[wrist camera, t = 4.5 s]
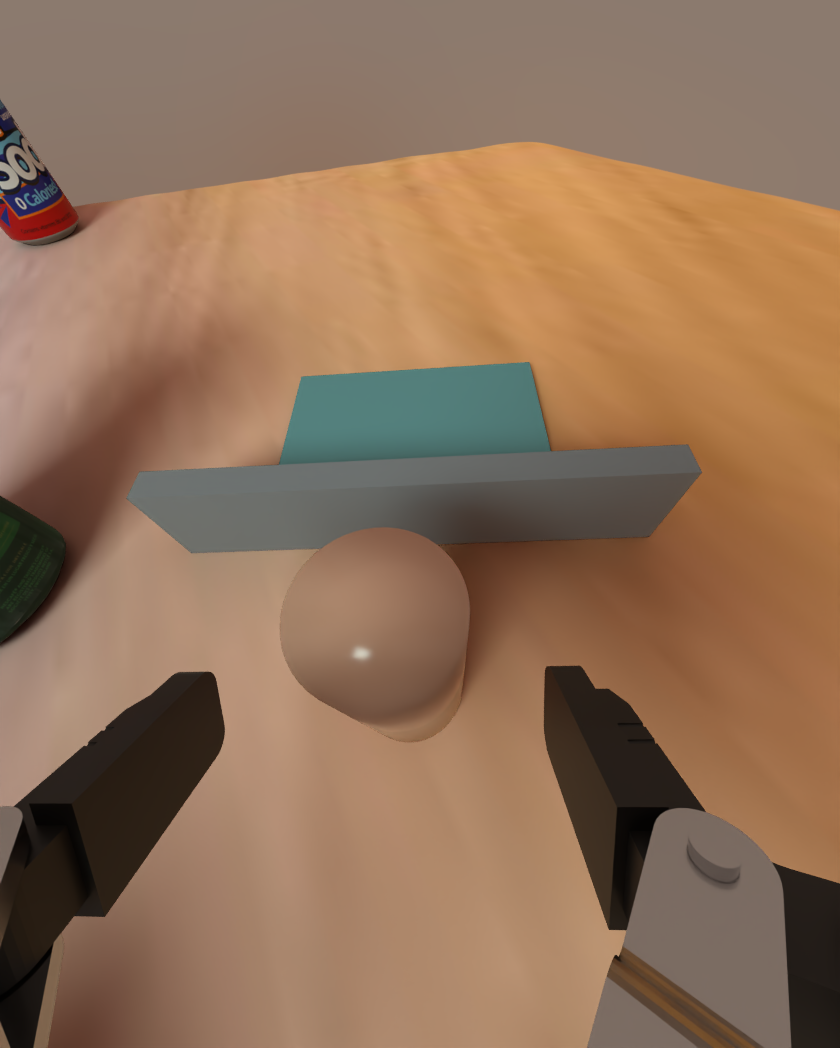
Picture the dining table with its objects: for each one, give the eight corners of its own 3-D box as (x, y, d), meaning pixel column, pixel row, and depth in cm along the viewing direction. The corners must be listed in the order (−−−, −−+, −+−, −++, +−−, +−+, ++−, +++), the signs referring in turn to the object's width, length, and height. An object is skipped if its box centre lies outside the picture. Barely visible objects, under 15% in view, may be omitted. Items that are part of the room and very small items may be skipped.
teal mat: (527, 369, 27) (529, 362, 27) (557, 495, 21) (560, 489, 21) (304, 383, 28) (301, 376, 28) (273, 508, 22) (269, 502, 22)
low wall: (640, 511, 20) (687, 444, 16) (649, 536, 20) (701, 472, 15) (199, 529, 22) (139, 471, 18) (191, 553, 21) (126, 498, 17)
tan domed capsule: (450, 622, 18) (447, 513, 11) (474, 729, 16) (493, 689, 8) (354, 641, 18) (281, 544, 10) (363, 752, 16) (277, 733, 8)
